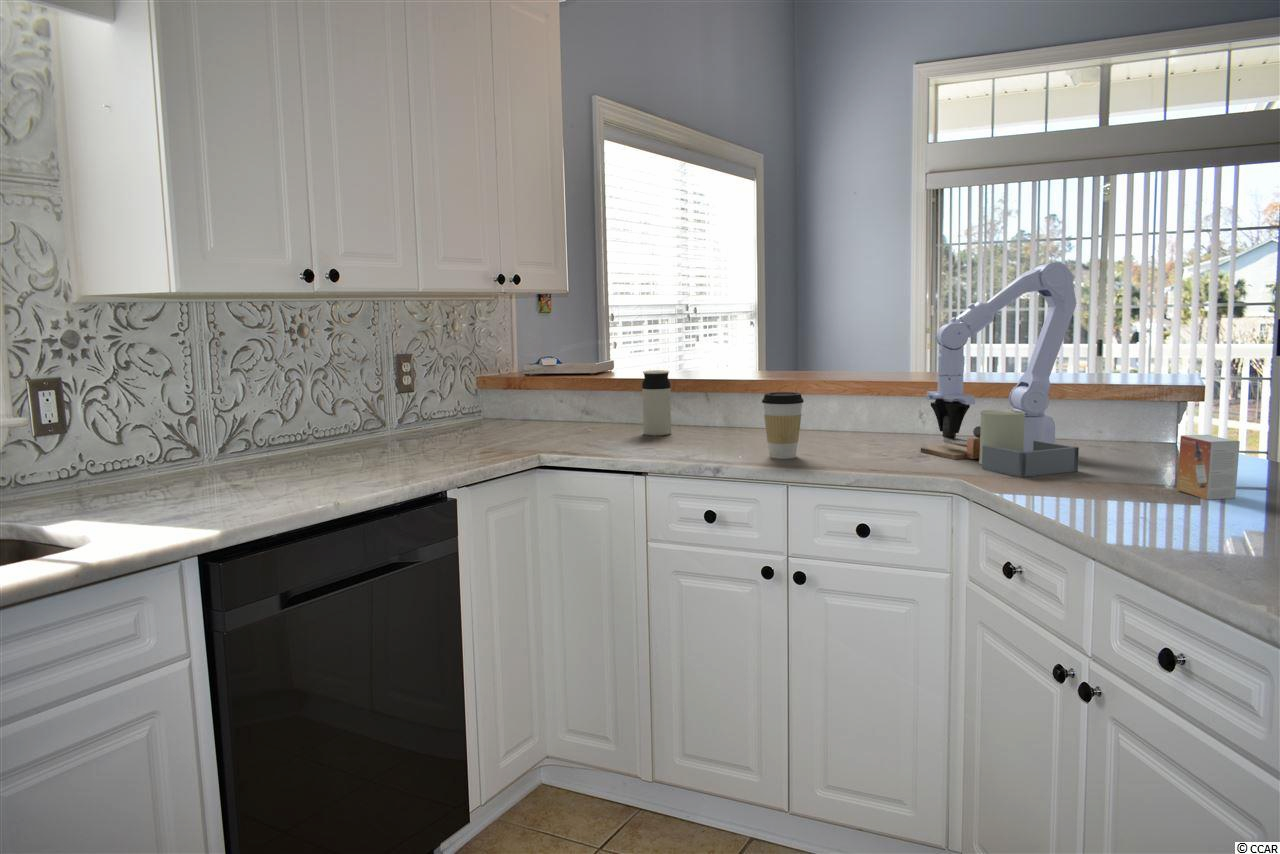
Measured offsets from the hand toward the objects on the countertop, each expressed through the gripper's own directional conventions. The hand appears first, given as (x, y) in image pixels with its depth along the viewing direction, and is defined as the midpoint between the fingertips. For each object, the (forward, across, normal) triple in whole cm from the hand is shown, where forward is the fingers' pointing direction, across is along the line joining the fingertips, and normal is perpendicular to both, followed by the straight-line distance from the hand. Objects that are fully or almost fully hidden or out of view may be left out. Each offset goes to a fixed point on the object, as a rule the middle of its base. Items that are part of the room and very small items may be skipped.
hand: (949, 432), depth 212 cm
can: (+5, +17, 0) cm, 18 cm away
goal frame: (+5, +25, 0) cm, 25 cm away
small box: (+5, +58, +9) cm, 59 cm away
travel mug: (+5, -64, -49) cm, 81 cm away
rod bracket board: (+5, +2, 0) cm, 5 cm away
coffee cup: (+5, -14, -37) cm, 40 cm away
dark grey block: (+5, +5, 0) cm, 7 cm away
